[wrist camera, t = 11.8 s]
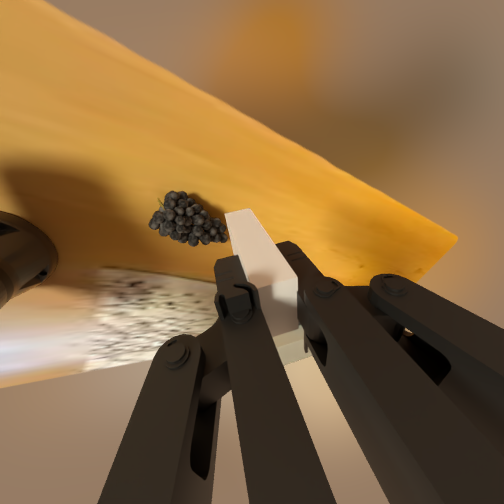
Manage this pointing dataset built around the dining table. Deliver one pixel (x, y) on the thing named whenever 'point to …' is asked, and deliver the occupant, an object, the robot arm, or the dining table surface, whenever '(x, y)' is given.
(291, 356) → the cream rectangular block
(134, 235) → the dining table surface
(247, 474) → the robot arm
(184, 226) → the fruit
